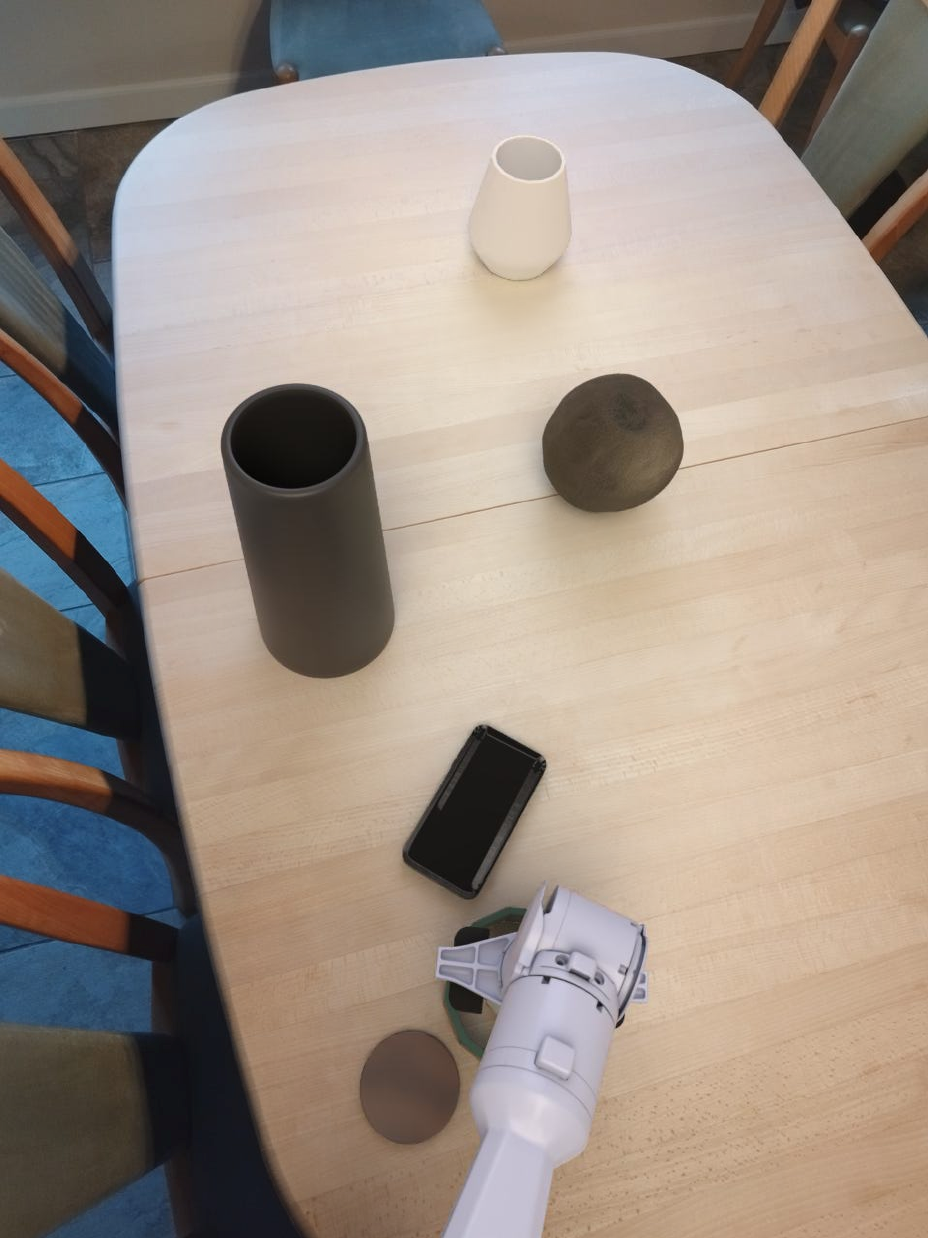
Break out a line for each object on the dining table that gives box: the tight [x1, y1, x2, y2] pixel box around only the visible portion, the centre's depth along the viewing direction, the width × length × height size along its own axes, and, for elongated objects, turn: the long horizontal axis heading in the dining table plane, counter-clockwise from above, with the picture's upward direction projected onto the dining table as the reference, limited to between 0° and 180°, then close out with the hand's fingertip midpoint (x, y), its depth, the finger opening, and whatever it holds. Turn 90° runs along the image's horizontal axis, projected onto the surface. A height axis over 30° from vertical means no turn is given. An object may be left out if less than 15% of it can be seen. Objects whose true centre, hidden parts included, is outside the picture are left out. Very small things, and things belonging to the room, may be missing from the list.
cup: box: [466, 134, 573, 282], centre depth 108 cm, size 13×13×14 cm
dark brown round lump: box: [541, 372, 685, 514], centre depth 91 cm, size 14×14×15 cm
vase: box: [220, 382, 395, 679], centre depth 76 cm, size 14×14×29 cm
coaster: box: [359, 1030, 461, 1145], centre depth 70 cm, size 8×8×1 cm
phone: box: [402, 724, 547, 901], centre depth 80 cm, size 8×1×15 cm
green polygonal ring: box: [442, 906, 528, 1062], centre depth 72 cm, size 12×12×4 cm
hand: (526, 984), depth 67 cm, fingers open, 7 cm apart
